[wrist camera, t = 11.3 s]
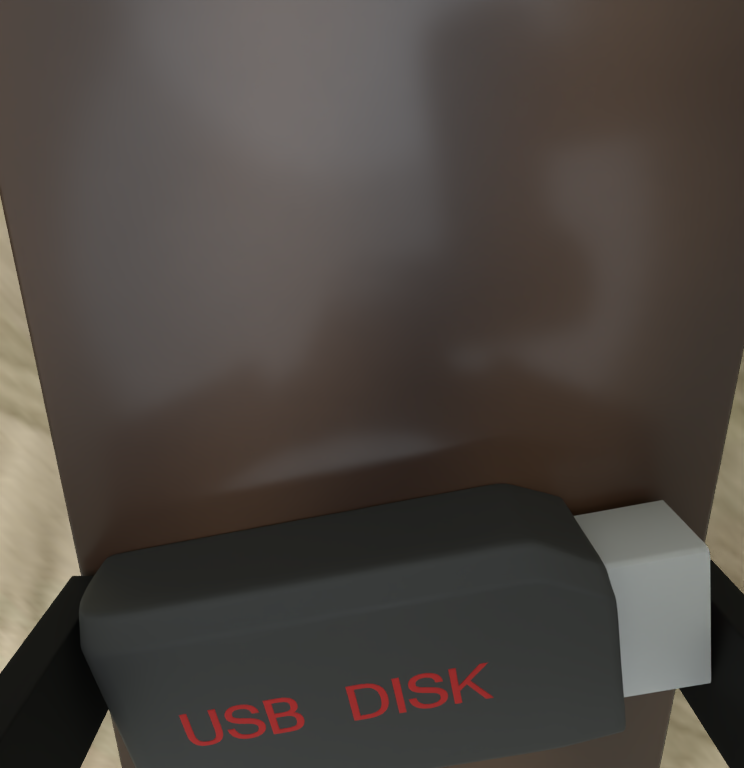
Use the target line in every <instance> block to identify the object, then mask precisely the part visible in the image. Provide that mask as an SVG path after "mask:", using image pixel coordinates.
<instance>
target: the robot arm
mask: <svg viewBox="0 0 744 768" xmlns="http://www.w3.org/2000/svg"><path fill="white" fill-rule="evenodd" d="M93 577H94V576H72V577H71V578H70V580H69V581H68V583H67V584H66V585H65V587H64V588H63V589H62V591H61V592H60V593H59V595H58V596H57V597H56V599H55V600H54V602H53V603H52V604H51V606H50V607H49V608H48V610H47V611H46V612H45V614H44V615H43V616H42V618H41V619H40V620H39V622H38V623H37V625H36V626H35V627H34V629H33V630H32V631H31V633H30V634H29V635H28V637H27V638H26V639H25V641H24V642H23V644H22V645H21V646H20V648H19V649H18V650H17V652H16V653H15V654H14V656H13V657H12V658H11V660H10V661H9V662H8V664H7V665H6V667H5V668H4V669H3V671H2V672H1V673H0V768H80V767H81V765H82V763H83V761H84V759H85V757H86V755H87V753H88V751H89V748H90V746H91V744H92V742H93V740H94V738H95V736H96V734H97V732H98V730H99V728H100V726H101V723H102V721H103V719H104V717H105V715H106V713H107V711H108V707H107V704H106V702H105V700H104V698H103V696H102V694H101V691H100V689H99V687H98V685H97V683H96V681H95V678H94V676H93V674H92V672H91V670H90V667H89V665H88V663H87V661H86V659H85V656H84V654H83V652H82V649H81V645H80V624H79V607H80V601H81V599H82V597H83V595H84V592H85V590H86V588H87V587H88V585H89V583H90V582H91V580H92V578H93ZM710 600H711V683H708V684H702V685H695V686H689V687H683V688H679V689H680V690H681V692H682V694H683V695H684V697H685V698H686V700H687V701H688V703H689V705H690V706H691V708H692V709H693V711H694V713H695V714H696V716H697V717H698V719H699V720H700V722H701V724H702V725H703V727H704V728H705V730H706V731H707V733H708V735H709V736H710V738H711V739H712V741H713V742H714V744H715V746H716V747H717V749H718V750H719V752H720V753H721V755H722V757H723V758H724V760H725V761H726V763H727V765H728V766H729V768H744V594H743V593H742V592H741V591H740V590H739V589H738V588H737V587H736V586H735V585H734V583H733V582H732V581H731V580H730V579H729V578H728V577H727V576H726V575H725V574H724V573H723V572H722V571H721V570H720V569H719V568H718V566H717V565H716V564H715V563H714V562H713V561H712V560H710Z"/></svg>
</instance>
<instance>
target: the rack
mask: <svg viewBox="0 0 744 768" xmlns="http://www.w3.org/2000/svg"><path fill="white" fill-rule="evenodd" d="M0 196H1V200H2V205H3V210H4V215H5V219H6V224H7V229H8V233H9V238H10V243H11V248H12V252H13V257H14V262H15V266H16V271H17V276H18V280H19V285H20V290H21V295H22V299H23V304H24V309H25V313H26V318H27V323H28V328H29V332H30V337H31V342H32V346H33V351H34V356H35V360H36V365H37V370H38V375H39V379H40V384H41V389H42V393H43V398H44V403H45V408H46V412H47V417H48V422H49V426H50V431H51V436H52V441H53V445H54V450H55V455H56V459H57V464H58V469H59V473H60V478H61V483H62V488H63V492H64V497H65V502H66V506H67V511H68V516H69V521H70V525H71V530H72V535H73V539H74V544H75V549H76V554H77V558H78V563H79V568H80V572H81V576H94V575H95V574H96V572H97V571H98V569H99V568H100V566H101V565H102V564H103V562H104V561H105V560H106V559H107V558H108V557H110V556H112V555H115V554H120V553H124V552H129V551H134V550H140V549H145V548H150V547H156V546H161V545H166V544H172V543H177V542H182V541H188V540H193V539H199V538H204V537H210V536H215V535H220V534H226V533H231V532H237V531H242V530H247V529H253V528H258V527H264V526H269V525H275V524H280V523H285V522H291V521H296V520H302V519H307V518H312V517H318V516H323V515H329V514H334V513H340V512H345V511H350V510H356V509H361V508H367V507H372V506H377V505H383V504H388V503H394V502H399V501H404V500H410V499H415V498H421V497H426V496H432V495H437V494H442V493H448V492H453V491H459V490H464V489H469V488H475V487H480V486H487V485H493V484H505V483H506V484H511V485H515V486H519V487H523V488H527V489H531V490H535V491H539V492H543V493H547V494H551V495H554V496H558V497H560V498H562V499H563V501H564V502H565V504H566V505H567V507H568V508H569V509H570V511H571V513H572V514H573V516H577V515H582V514H588V513H593V512H599V511H604V510H610V509H615V508H621V507H627V506H632V505H638V504H643V503H649V502H654V501H660V500H663V501H664V502H665V503H666V504H667V505H668V506H669V507H670V508H671V509H672V510H673V511H674V512H675V513H676V514H677V515H678V516H679V517H680V518H681V519H682V520H683V521H684V522H685V523H686V524H687V526H688V527H689V528H690V529H691V530H692V531H693V532H694V533H695V534H696V535H697V536H698V537H699V538H700V539H701V540H702V541H703V542H704V543H705V539H706V534H707V529H708V524H709V519H710V514H711V509H712V504H713V499H714V494H715V489H716V484H717V479H718V474H719V469H720V464H721V459H722V454H723V449H724V444H725V439H726V434H727V429H728V424H729V419H730V414H731V409H732V404H733V399H734V394H735V389H736V384H737V379H738V374H739V369H740V364H741V359H742V354H743V349H744V0H0ZM674 694H675V689H671V690H665V691H659V692H653V693H647V694H641V695H635V696H629V697H624V704H625V719H626V728H625V730H624V731H623V732H620V733H616V734H612V735H609V736H605V737H601V738H597V739H593V740H589V741H585V742H581V743H578V744H574V745H570V746H566V747H561V748H556V749H551V750H545V751H539V752H533V753H527V754H521V755H515V756H508V757H502V758H496V759H490V760H484V761H478V762H472V763H465V764H459V765H453V766H447V767H441V768H660V764H661V759H662V754H663V749H664V744H665V739H666V734H667V729H668V724H669V719H670V714H671V709H672V704H673V699H674ZM110 714H111V713H110ZM111 718H112V715H111ZM112 723H113V728H114V732H115V737H116V742H117V747H118V751H119V756H120V761H121V765H122V768H135V765H134V763H133V761H132V759H131V757H130V755H129V752H128V750H127V748H126V746H125V744H124V742H123V739H122V737H121V735H120V733H119V731H118V728H117V726H116V724H115V722H114V720H113V718H112Z"/></svg>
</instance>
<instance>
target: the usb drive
mask: <svg viewBox="0 0 744 768" xmlns="http://www.w3.org/2000/svg"><path fill="white" fill-rule="evenodd" d="M79 624H80V645H81V649H82V652H83V654H84V656H85V659H86V661H87V663H88V665H89V667H90V670H91V672H92V674H93V676H94V678H95V681H96V683H97V685H98V687H99V689H100V691H101V694H102V696H103V698H104V700H105V702H106V704H107V707H108V709H109V711H110V713H111V715H112V718H113V720H114V722H115V724H116V726H117V728H118V731H119V733H120V735H121V737H122V739H123V742H124V744H125V746H126V748H127V750H128V752H129V755H130V757H131V759H132V761H133V763H134V765H135V768H441V767H447V766H453V765H459V764H465V763H472V762H478V761H484V760H490V759H496V758H502V757H508V756H515V755H521V754H527V753H533V752H539V751H545V750H551V749H556V748H561V747H566V746H570V745H574V744H578V743H581V742H585V741H589V740H593V739H597V738H601V737H605V736H609V735H612V734H616V733H620V732H623V731H624V730H625V728H626V719H625V704H624V697H629V696H635V695H641V694H647V693H653V692H659V691H665V690H671V689H677V688H683V687H689V686H695V685H702V684H708V683H711V600H710V552H709V549H708V547H707V546H706V544H705V543H704V542H703V541H702V540H701V539H700V538H699V537H698V536H697V535H696V534H695V533H694V532H693V531H692V530H691V529H690V528H689V527H688V526H687V524H686V523H685V522H684V521H683V520H682V519H681V518H680V517H679V516H678V515H677V514H676V513H675V512H674V511H673V510H672V509H671V508H670V507H669V506H668V505H667V504H666V503H665V502H664V501H663V500H660V501H654V502H649V503H643V504H638V505H632V506H627V507H621V508H615V509H610V510H604V511H599V512H593V513H588V514H582V515H577V516H573V514H572V513H571V511H570V509H569V508H568V507H567V505H566V504H565V502H564V501H563V499H562V498H560V497H558V496H554V495H551V494H547V493H543V492H539V491H535V490H531V489H527V488H523V487H519V486H515V485H511V484H506V483H505V484H493V485H487V486H480V487H475V488H469V489H464V490H459V491H453V492H448V493H442V494H437V495H432V496H426V497H421V498H415V499H410V500H404V501H399V502H394V503H388V504H383V505H377V506H372V507H367V508H361V509H356V510H350V511H345V512H340V513H334V514H329V515H323V516H318V517H312V518H307V519H302V520H296V521H291V522H285V523H280V524H275V525H269V526H264V527H258V528H253V529H247V530H242V531H237V532H231V533H226V534H220V535H215V536H210V537H204V538H199V539H193V540H188V541H182V542H177V543H172V544H166V545H161V546H156V547H150V548H145V549H140V550H134V551H129V552H124V553H120V554H115V555H112V556H110V557H108V558H107V559H106V560H105V561H104V562H103V564H102V565H101V566H100V568H99V569H98V571H97V572H96V574H95V575H94V577H93V578H92V580H91V582H90V583H89V585H88V587H87V588H86V590H85V592H84V595H83V597H82V599H81V601H80V607H79Z"/></svg>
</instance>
